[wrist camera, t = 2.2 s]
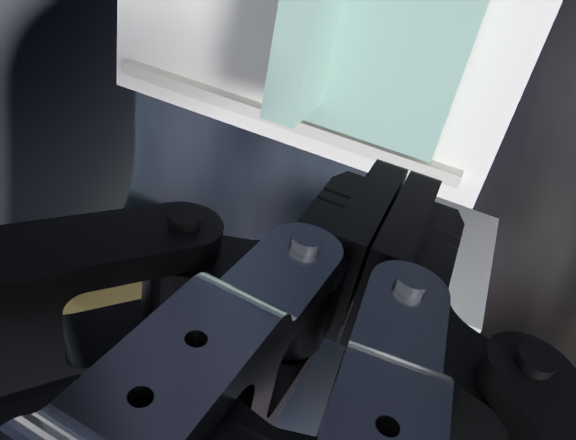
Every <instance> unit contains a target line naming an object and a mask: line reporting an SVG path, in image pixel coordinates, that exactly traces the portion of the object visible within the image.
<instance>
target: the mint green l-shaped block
mask: <svg viewBox="0 0 576 440" xmlns="http://www.w3.org/2000/svg"><path fill="white" fill-rule="evenodd" d="M489 3H490V0H279V2H278V8H277V14H276V20H275V26H274V32H273V39H272V45H271V51H270V57H269V63H268V69H267V76H266V82H265V88H264V94H263V100H262V106H261V112H260V118H262V119H265V120H268V121H270V122H273V123H276V124H279V125H282V126H285V127H288V128H291V129H293V128H295V127H296V126H297V125H298V124H299V123H300V122H302V121H303V120H304V121H307V122H310V123H313V124H316V125H319V126H322V127H325V128H328V129H331V130H334V131H337V132H340V133H343V134H346V135H349V136H352V137H355V138H358V139H361V140H363V141H366V142H369V143H372V144H375V145H378V146H381V147H384V148H387V149H390V150H393V151H396V152H399V153H402V154H405V155H408V156H411V157H414V158H417V159H420V160H423V161H426V162H429V163H431V161H432V159H433V157H434V154H435V151H436V148H437V146H438V143H439V140H440V137H441V135H442V132H443V129H444V126H445V124H446V121H447V118H448V115H449V113H450V110H451V107H452V104H453V102H454V99H455V96H456V93H457V91H458V88H459V85H460V82H461V80H462V77H463V74H464V72H465V69H466V66H467V63H468V61H469V58H470V55H471V52H472V50H473V47H474V44H475V41H476V39H477V36H478V33H479V30H480V28H481V25H482V22H483V19H484V17H485V14H486V11H487V8H488V6H489Z"/></svg>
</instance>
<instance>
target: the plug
mask: <svg viewBox="0 0 576 440" xmlns="http://www.w3.org/2000/svg"><path fill="white" fill-rule="evenodd" d="M435 202H438V203H441V204H444V205H446V206H449V207H452V208H455V209H458V211H459V213H460V215H461V217H462V219H463V221H464V224H465V225H464V229H463V233H462V237H461V241H460V245H459V248H458V253H457V257H456V261H455V265H454V269H453V273H452V277H451V281H450V285H449V292H450V295H451V302H450V304H451V306H452V308H453V310H454V311H455V313H456V314H457V315H458V316H459V317H460V318H461V319H462V320H463V321H464V322H465V323H466V324H467V325H468V326H470V327H471V328H472V329H474V330H475V331H477V332H478V333H481V331H482V325H483V319H484V312H485V306H486V299H487V293H488V286H489V280H490V273H491V267H492V261H493V254H494V248H495V241H496V235H497V228H498V222H499V219H498V218H496V217H493V216H490V215H487V214H484V213H481V212H478V211H476V210H473V209H470V208H467V207H464V206H461V205H459V204H456V203H453V202H450V201H447V200H444V199H441V198H439V197H436V199H435Z"/></svg>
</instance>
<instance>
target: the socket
mask: <svg viewBox="0 0 576 440" xmlns="http://www.w3.org/2000/svg"><path fill="white" fill-rule="evenodd" d="M562 1H563V0H490V3H489V6H488V8H487V11H486V14H485V17H484V19H483V22H482V25H481V28H480V30H479V33H478V36H477V39H476V41H475V44H474V47H473V50H472V52H471V55H470V58H469V61H468V63H467V66H466V69H465V72H464V74H463V77H462V80H461V82H460V85H459V88H458V91H457V93H456V96H455V99H454V102H453V104H452V107H451V110H450V113H449V115H448V118H447V121H446V124H445V126H444V129H443V132H442V135H441V137H440V140H439V143H438V146H437V148H436V151H435V154H434V157H433V159H432V161H431V163H429V162H426V161H423V160H420V159H417V158H414V157H411V156H408V155H405V154H402V153H399V152H396V151H393V150H390V149H387V148H384V147H381V146H378V145H375V144H372V143H369V142H366V141H363V140H361V139H358V138H355V137H352V136H349V135H346V134H343V133H340V132H337V131H334V130H331V129H328V128H325V127H322V126H319V125H316V124H313V123H310V122H307V121H304V120H303V121H302V122H300V123H299V124H298V125H297V126H296V127H295V128H293V129H291V128H288V127H285V126H282V125H279V124H276V123H273V122H270V121H268V120H265V119H262V118H260V112H261V106H262V100H263V94H264V88H265V82H266V76H267V69H268V63H269V57H270V51H271V45H272V39H273V32H274V26H275V20H276V14H277V8H278V2H279V0H117V85H120V86H122V87H125V88H128V89H131V90H134V91H137V92H139V93H142V94H145V95H148V96H151V97H154V98H157V99H159V100H162V101H165V102H168V103H171V104H174V105H177V106H179V107H182V108H185V109H188V110H191V111H194V112H197V113H199V114H202V115H205V116H208V117H211V118H214V119H217V120H219V121H222V122H225V123H228V124H231V125H234V126H237V127H239V128H242V129H245V130H248V131H251V132H254V133H257V134H259V135H262V136H265V137H268V138H271V139H274V140H277V141H279V142H282V143H285V144H288V145H291V146H294V147H297V148H299V149H302V150H305V151H308V152H311V153H314V154H317V155H319V156H322V157H325V158H328V159H331V160H334V161H337V162H339V163H342V164H345V165H348V166H351V167H354V168H357V169H359V170H362V171H365V172H369V170H370V169H371V167H372V166H373V164H374V163H375V161H376V160H377V159H379V160H382V161H385V162H388V163H391V164H394V165H397V166H400V167H403V168H406V169H408V173H407V177H408V175H409V173H410V171H411V170H412V171H415V172H418V173H421V174H424V175H426V176H429V177H432V178H435V179H438V180H441V181H442V183H441V186H440V188H439V191H438V194H437V196H436V197H439V198H442V199H445V200H448V201H451V202H454V203H456V204H459V205H462V206H465V207H468V208H471V209H473V207H474V204H475V202H476V200H477V197H478V195H479V193H480V190H481V188H482V186H483V183H484V181H485V179H486V177H487V174H488V172H489V170H490V167H491V165H492V163H493V160H494V158H495V156H496V153H497V151H498V149H499V147H500V144H501V142H502V140H503V137H504V135H505V133H506V130H507V128H508V126H509V124H510V121H511V119H512V117H513V114H514V112H515V110H516V107H517V105H518V103H519V100H520V98H521V96H522V94H523V91H524V89H525V87H526V84H527V82H528V80H529V77H530V75H531V73H532V70H533V68H534V66H535V64H536V61H537V59H538V57H539V54H540V52H541V50H542V47H543V45H544V43H545V40H546V38H547V36H548V34H549V31H550V29H551V27H552V24H553V22H554V20H555V17H556V15H557V13H558V11H559V8H560V6H561V4H562ZM407 177H406V179H407Z"/></svg>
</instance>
